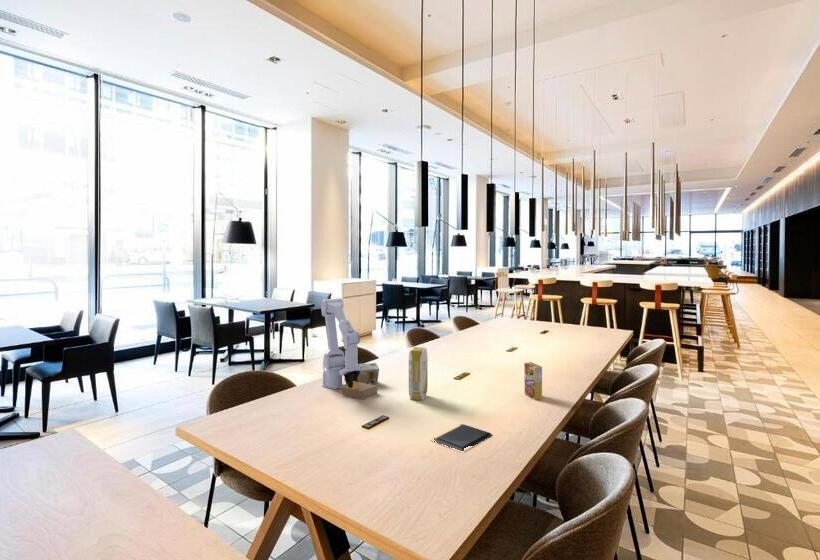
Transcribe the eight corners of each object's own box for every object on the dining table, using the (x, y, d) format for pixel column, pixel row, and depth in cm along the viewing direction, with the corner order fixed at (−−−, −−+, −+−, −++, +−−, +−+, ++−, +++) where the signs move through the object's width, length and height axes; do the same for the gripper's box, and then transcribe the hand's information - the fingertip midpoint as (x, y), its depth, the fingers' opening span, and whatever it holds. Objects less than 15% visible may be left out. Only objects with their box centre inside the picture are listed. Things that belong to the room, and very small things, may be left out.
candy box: (523, 394, 209) (523, 362, 208) (531, 393, 210) (531, 361, 209) (534, 400, 200) (534, 367, 199) (542, 399, 202) (542, 366, 201)
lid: (339, 387, 208) (339, 379, 208) (354, 382, 217) (354, 374, 217) (361, 392, 201) (361, 384, 201) (375, 386, 209) (375, 378, 209)
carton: (342, 394, 210) (342, 386, 210) (356, 388, 218) (356, 381, 218) (363, 399, 203) (363, 391, 202) (377, 393, 211) (377, 386, 211)
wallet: (461, 449, 149) (428, 436, 159) (461, 455, 149) (428, 441, 159) (495, 431, 163) (462, 420, 173) (495, 436, 163) (462, 425, 174)
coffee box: (377, 384, 226) (346, 386, 220) (374, 377, 232) (344, 379, 226) (379, 368, 223) (348, 371, 217) (376, 361, 229) (345, 364, 223)
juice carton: (424, 401, 200) (424, 348, 198) (407, 400, 201) (407, 348, 200) (428, 394, 209) (428, 344, 207) (411, 393, 210) (411, 343, 209)
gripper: (347, 362, 196) (347, 392, 197) (368, 356, 208) (368, 384, 209) (335, 360, 200) (336, 389, 201) (356, 354, 212) (356, 381, 213)
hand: (351, 386), depth 205 cm, fingers closed on lid
